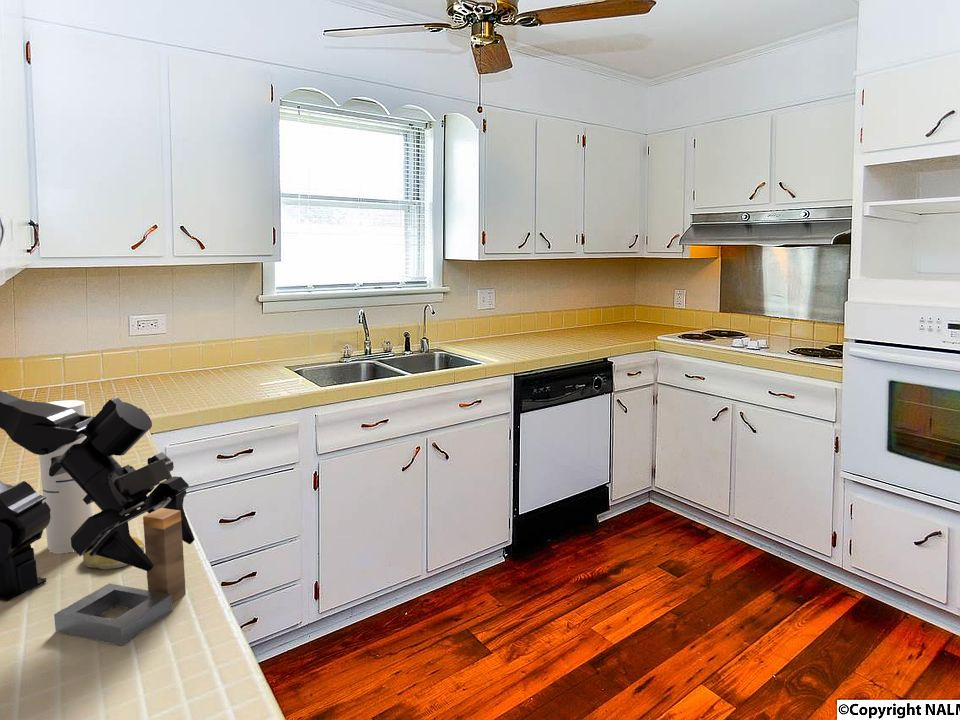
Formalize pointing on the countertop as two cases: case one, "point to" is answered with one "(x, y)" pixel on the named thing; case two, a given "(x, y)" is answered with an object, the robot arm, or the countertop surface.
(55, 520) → the cylindrical container
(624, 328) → the countertop surface
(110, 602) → the grey rectangular frame
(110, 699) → the countertop surface
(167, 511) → the walnut pin
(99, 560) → the bread roll
